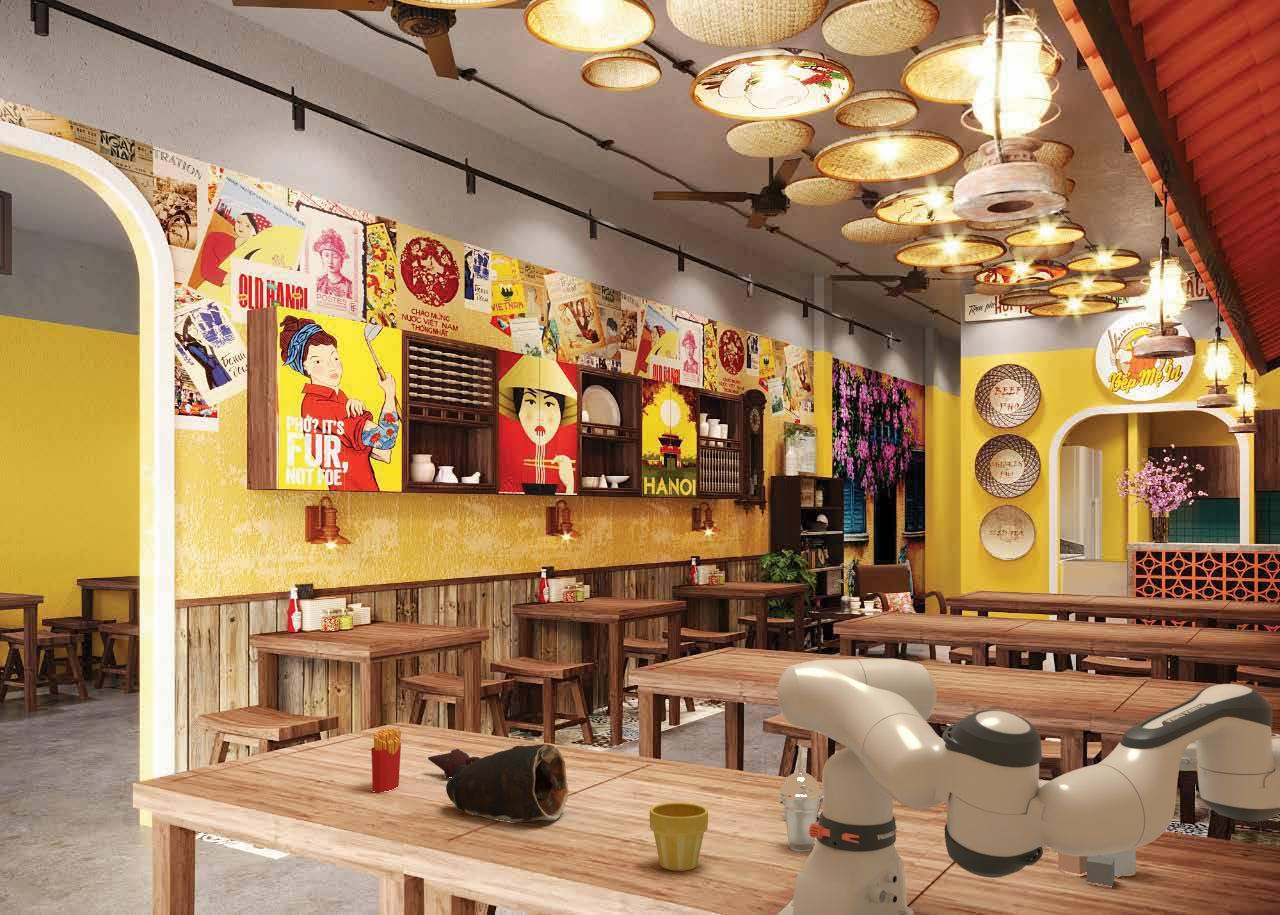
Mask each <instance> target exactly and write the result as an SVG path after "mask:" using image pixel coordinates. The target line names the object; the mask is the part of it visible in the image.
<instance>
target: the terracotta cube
mask: <svg viewBox="0 0 1280 915" xmlns="http://www.w3.org/2000/svg"><path fill="white" fill-rule="evenodd" d="M1057 854H1058V855H1057V856H1058V860H1057V861H1058V870H1059V869H1062V870H1065V871H1068V872H1072V873H1077V874H1082V873H1085V872H1087V868H1086V861H1087V858H1088V856H1070V855H1065V854H1061V853H1059V852H1057Z"/></svg>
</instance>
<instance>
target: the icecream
mask: <svg viewBox="0 0 1280 915" xmlns="http://www.w3.org/2000/svg"><path fill="white" fill-rule="evenodd" d="M481 758H482V757H480V756H471V757H470V755H469V754H468V753H466V752H464V751H462V750H460V748H455V749H452V750H451V751H450V752H447V753H442V754H437V755H432V756H431V755H430V756H428V758H427V759H428V760H429V761H430V762H431V763H432V764H434V765H436V766H437V767H438V768H440V770H442V771H444V775H445V777H446V778H447V779H448V778H449V777H453V776H454V775H455V774H456V772H457V770H458V769H459V768H460V767H461V766H462V765H469V764H471V763H473V762H474V761H476V760H478V759H481Z"/></svg>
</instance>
